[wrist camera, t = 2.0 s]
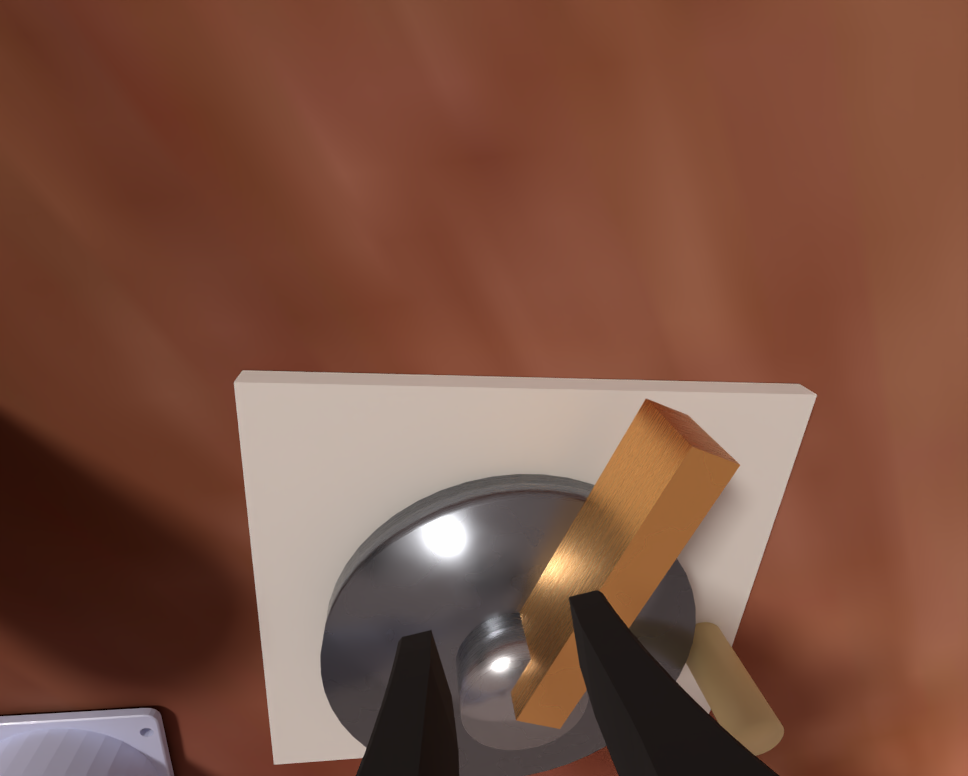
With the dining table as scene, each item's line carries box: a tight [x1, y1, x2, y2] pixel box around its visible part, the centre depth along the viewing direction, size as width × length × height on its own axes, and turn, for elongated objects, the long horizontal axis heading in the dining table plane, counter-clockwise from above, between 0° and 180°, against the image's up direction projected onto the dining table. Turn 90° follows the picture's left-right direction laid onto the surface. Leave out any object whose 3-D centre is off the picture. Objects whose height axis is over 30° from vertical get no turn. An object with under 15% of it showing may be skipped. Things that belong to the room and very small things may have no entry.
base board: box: [234, 370, 817, 765], centre depth 21 cm, size 18×20×6 cm
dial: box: [320, 399, 740, 776], centre depth 19 cm, size 18×14×4 cm
